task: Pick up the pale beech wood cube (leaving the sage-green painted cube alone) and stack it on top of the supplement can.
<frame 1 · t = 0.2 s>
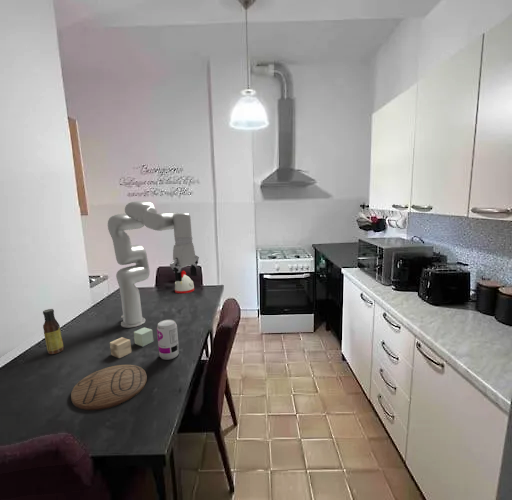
hand: (186, 278, 141), 31 cm above the table, fingers open, 9 cm apart
sauce bottle: (55, 351, 142), on the table
sage cube: (144, 342, 147), on the table
beech cube: (121, 353, 138), on the table
trivet: (111, 388, 113), on the table
supplement can: (169, 355, 134), on the table
white and red dome: (184, 290, 228), on the table
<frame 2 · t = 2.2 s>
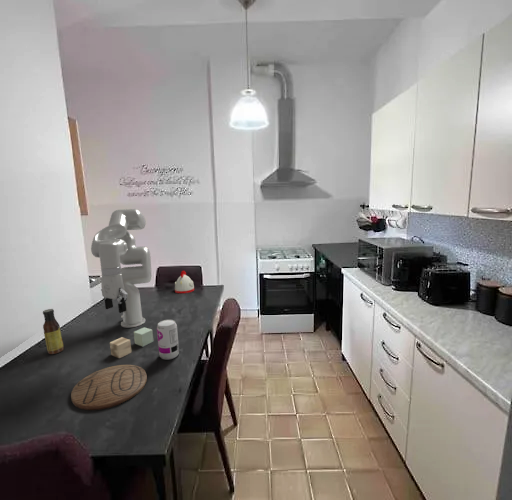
hand: (116, 309, 134), 20 cm above the table, fingers open, 9 cm apart
nothing on the table moved.
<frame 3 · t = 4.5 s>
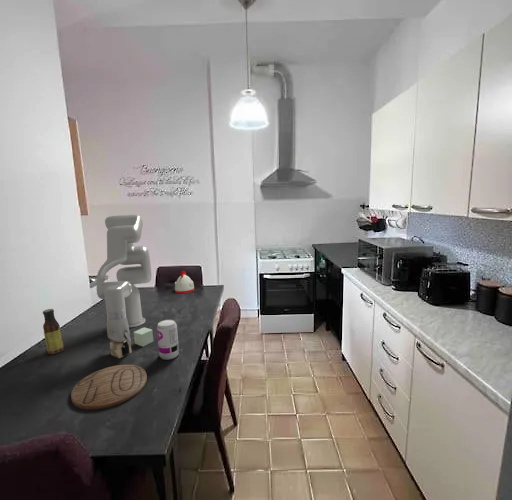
hand: (121, 352, 137), 1 cm above the table, fingers closed on beech cube, 6 cm apart
beech cube: (121, 353, 138), on the table, touching gripper
everything else where it was.
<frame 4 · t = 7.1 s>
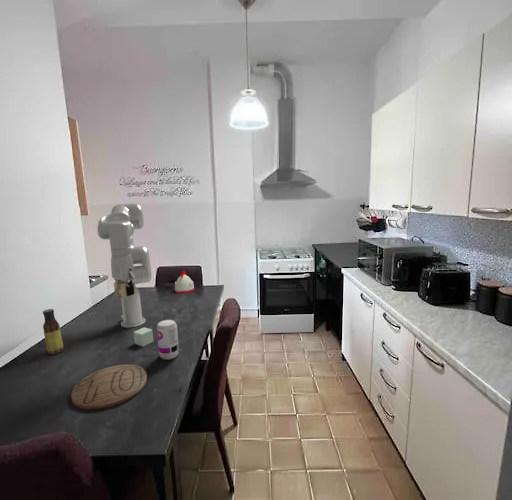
hand: (125, 293, 132), 28 cm above the table, fingers closed on beech cube, 6 cm apart
beech cube: (125, 295, 132), point 27 cm above the table, touching gripper
everything else where it was.
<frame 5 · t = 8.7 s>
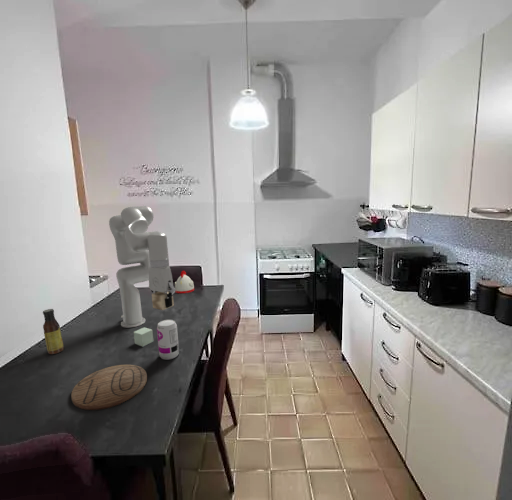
hand: (163, 305, 130), 23 cm above the table, fingers closed on beech cube, 6 cm apart
beech cube: (163, 306, 130), point 22 cm above the table, touching gripper
everything else where it was.
when the fingers open (17 cm above the table, at t = 9.9 s): beech cube drops 2 cm, resting on supplement can.
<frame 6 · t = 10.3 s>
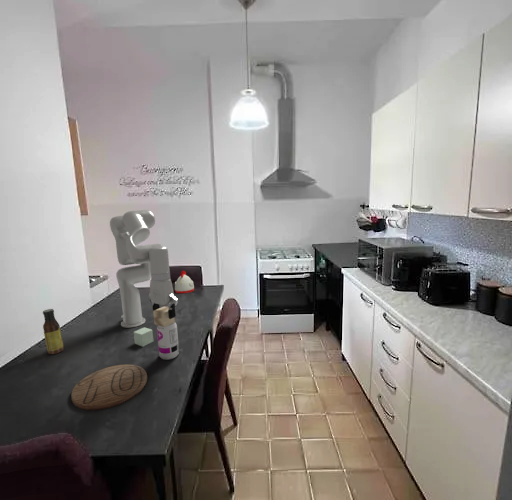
hand: (164, 315, 131), 18 cm above the table, fingers open, 9 cm apart
beech cube: (164, 323, 131), point 15 cm above the table, touching supplement can
supplement can: (169, 355, 134), on the table, touching beech cube
everything else where it was.
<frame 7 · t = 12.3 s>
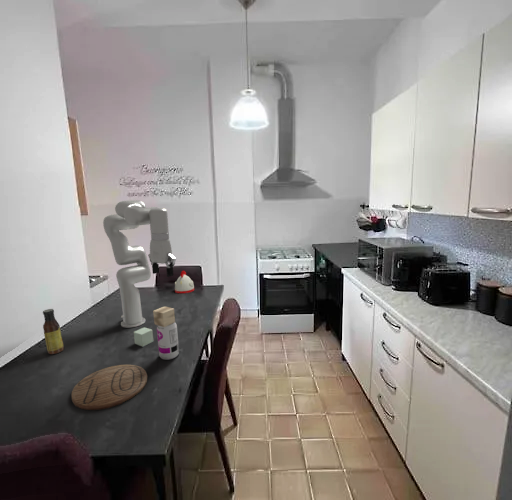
hand: (163, 274, 139), 33 cm above the table, fingers open, 9 cm apart
nothing on the table moved.
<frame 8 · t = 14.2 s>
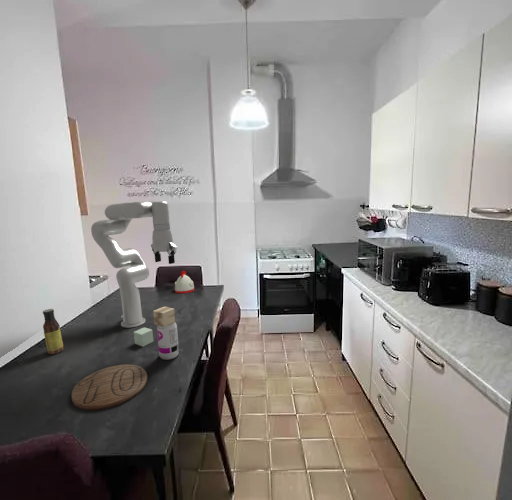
hand: (164, 262, 151), 36 cm above the table, fingers open, 9 cm apart
nothing on the table moved.
at the end: beech cube 0.6 cm from the supplement can (horizontally); beech cube point 15.0 cm above the table; beech cube tilted 0° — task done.
